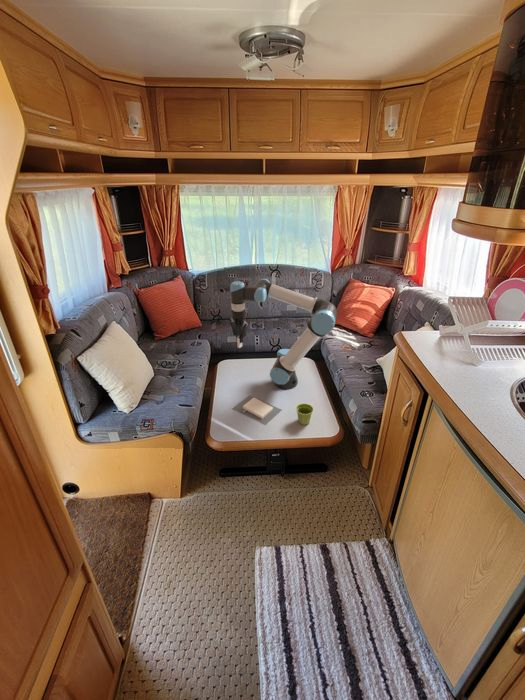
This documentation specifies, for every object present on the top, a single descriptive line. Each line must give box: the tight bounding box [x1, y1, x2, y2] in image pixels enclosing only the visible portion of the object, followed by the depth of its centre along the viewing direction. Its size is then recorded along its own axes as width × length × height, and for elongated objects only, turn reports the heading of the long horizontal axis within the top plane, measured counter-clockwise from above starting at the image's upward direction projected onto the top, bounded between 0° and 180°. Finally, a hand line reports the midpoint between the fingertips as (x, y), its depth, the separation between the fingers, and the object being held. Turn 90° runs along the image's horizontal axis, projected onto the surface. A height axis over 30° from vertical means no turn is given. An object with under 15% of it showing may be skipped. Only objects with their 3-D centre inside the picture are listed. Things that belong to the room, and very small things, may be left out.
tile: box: [243, 397, 273, 419], centre depth 196 cm, size 2×10×14 cm
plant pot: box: [295, 403, 314, 426], centre depth 187 cm, size 9×9×9 cm
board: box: [231, 394, 283, 426], centre depth 197 cm, size 24×16×2 cm, turn 53°
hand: (240, 346), depth 204 cm, fingers closed
